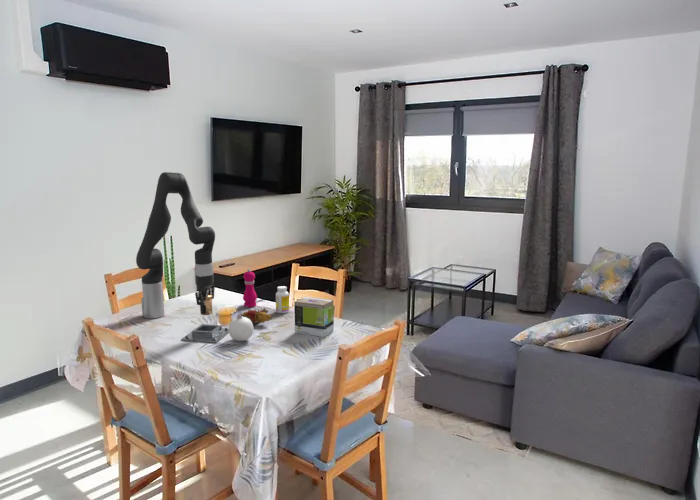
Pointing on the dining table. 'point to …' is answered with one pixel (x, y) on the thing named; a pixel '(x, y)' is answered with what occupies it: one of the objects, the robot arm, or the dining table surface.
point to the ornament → (240, 328)
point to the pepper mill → (249, 289)
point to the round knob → (208, 305)
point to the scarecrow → (257, 315)
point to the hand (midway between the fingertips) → (206, 311)
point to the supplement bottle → (282, 300)
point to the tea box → (314, 316)
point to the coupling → (207, 334)
